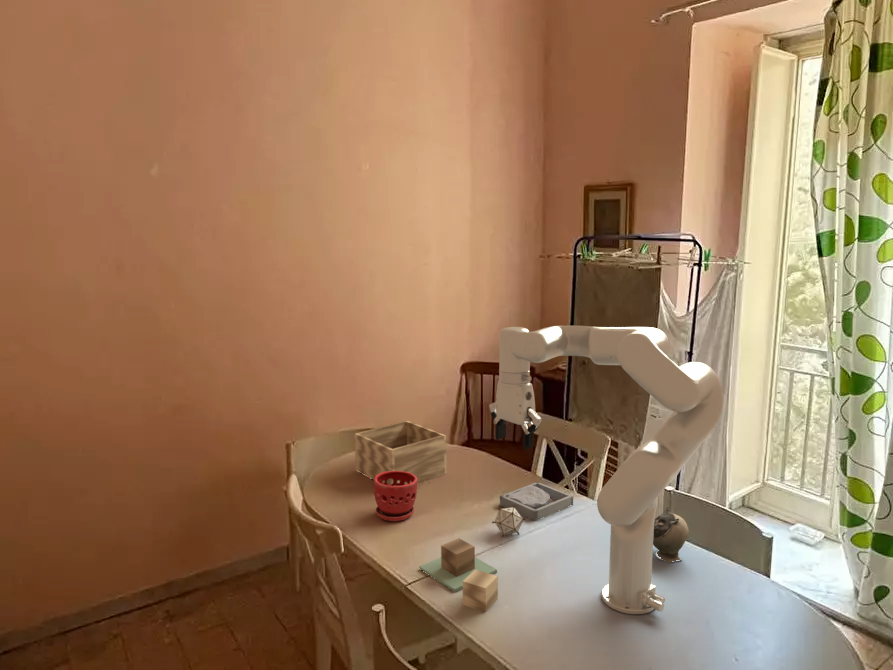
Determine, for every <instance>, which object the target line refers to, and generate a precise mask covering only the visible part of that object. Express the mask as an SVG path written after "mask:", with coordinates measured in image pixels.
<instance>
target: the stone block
mask: <svg viewBox="0 0 893 670" xmlns="http://www.w3.org/2000/svg"><path fill="white" fill-rule="evenodd" d="M523 487H524V488H522V487H521V488H522V489H521V490H520V491H518V492H517V493H510V494H509V495H508V498H510V499H512V500H515V501H517V502H519V503H522V504H524V505H526V506H528V507H531V508H533V509H538V508H540V507H543V506H545V505H548V504H550V503H551V499H552V498H550V496H549V494H548V493H546V492H545V491H543V490H542V489H540V488H538V487H535V486H528V485H526V487H525V486H523Z"/></svg>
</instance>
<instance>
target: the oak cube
mask: <svg viewBox="0 0 893 670" xmlns="http://www.w3.org/2000/svg"><path fill="white" fill-rule="evenodd" d="M498 579H499V576H498V575H495V574H489V573H485V572H482V571H479V570H474V571H473V572H472V573H471V574H470V575H469V576H468V577H467V578H466V579H465V580H463V589H462V606H465V605H466V607H468V608H471V609H475V610H477V611H481V612H483V613H487V612H488V610H490V609H491V607H492V606H493V605H494V604H495V603H496V602H497V601H498V598H499V597H498V596H499V587H498V585H499V583H498V582H499V581H498Z"/></svg>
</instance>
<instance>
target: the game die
mask: <svg viewBox="0 0 893 670" xmlns="http://www.w3.org/2000/svg"><path fill="white" fill-rule="evenodd" d="M497 509H498V512H497V515H496V517H495V519H494V521H493V520H492V521H491V524H495V526H496V527H497V529H498V530H499V531H500V532H501V534H502V535H501V538H504V537H505V535H511V534H516V533H517V535H520V532H519V530H520V528H521V526H522V523H523V521H525V520H526V519H527V518H526V517H524V518H523V516H522V515H521V514H519V513H518V511H517V510H516V509H515V504H514V506H513V507H509V508H506V507H503V508H501V507H499V506H497Z"/></svg>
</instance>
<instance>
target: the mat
mask: <svg viewBox="0 0 893 670" xmlns="http://www.w3.org/2000/svg"><path fill="white" fill-rule="evenodd" d="M419 568H420V569H421V570H423V571H424V572H426V573H427V574H429V575H430V576H432V577H433V578H435V579H436V580H437V581H436V580H435V579H434V580H435V581H436V582H438V581H439V582H440V583H439V582H438V583H439V584H441V583H442V584H441V585H443V586H444V585H445V587H446V586H447V587H448V589H449V590H450V589H451V590H450V591H452V592H453V591H454V593H456V592H458V590H459V591H460V590H463V589H462V588H463V580H465V579H466V578H467V577H468V576H469V575H470V574H471V573H472V572H473V571H474V570H479V571H482V572H485V573H489V574H492V575H495V574H497V573H498V569H497V568H495V567H493V566H491V565H490V564H488V563H486V562H484V561H483V560H481V559H479V558H478V557H476V556H475V569H473V570H471V571H469V572H466V573H464V574H462V575H460V576H458V577H456V576H454V575H453V574H451V573H450V572H448V571H446V570H445V569H443V568H441V557H438V558H436V559H434V560H431V561H429V562H426V563H425V564H422V565H420V566H419ZM420 569H419V570H420ZM421 570H420V571H421ZM423 571H422V572H423ZM424 572H423V573H424ZM426 573H425V574H426ZM427 574H426V575H427ZM429 575H428V576H429ZM430 576H429V577H430ZM432 577H431V578H432ZM433 578H432V579H433ZM447 587H446V588H447Z"/></svg>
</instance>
